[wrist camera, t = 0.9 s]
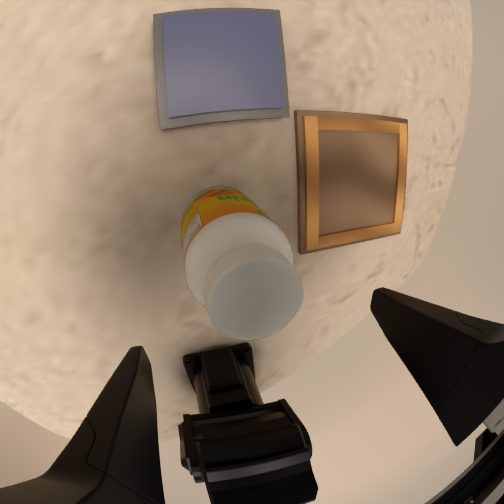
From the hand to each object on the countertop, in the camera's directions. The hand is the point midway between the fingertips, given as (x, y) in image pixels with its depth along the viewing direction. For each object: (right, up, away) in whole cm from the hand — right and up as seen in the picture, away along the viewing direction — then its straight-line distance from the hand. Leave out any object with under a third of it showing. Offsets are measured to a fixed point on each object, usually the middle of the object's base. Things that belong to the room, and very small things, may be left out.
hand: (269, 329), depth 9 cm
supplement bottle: (-3, +5, +10) cm, 11 cm away
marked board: (+8, +9, +11) cm, 16 cm away
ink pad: (-3, +15, +5) cm, 16 cm away
